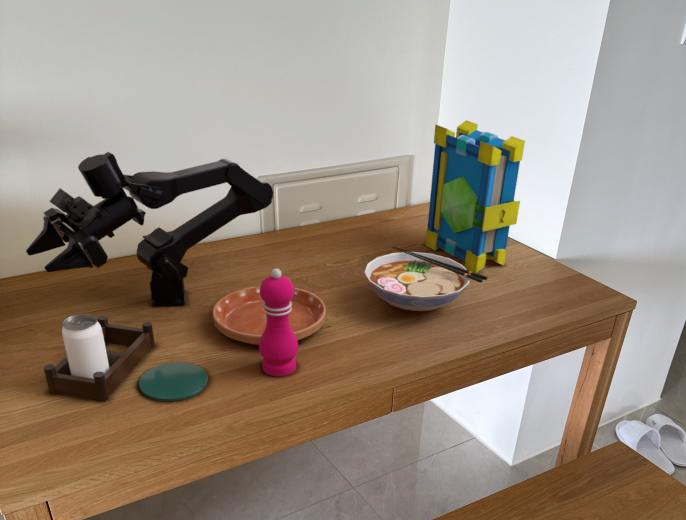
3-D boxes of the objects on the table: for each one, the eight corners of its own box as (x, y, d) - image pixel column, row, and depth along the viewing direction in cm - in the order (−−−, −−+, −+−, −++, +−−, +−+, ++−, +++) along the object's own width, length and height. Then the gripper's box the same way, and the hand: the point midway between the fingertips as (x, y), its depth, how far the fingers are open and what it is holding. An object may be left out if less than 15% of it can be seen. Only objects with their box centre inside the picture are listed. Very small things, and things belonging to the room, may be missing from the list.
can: (100, 393, 126) (87, 333, 119) (66, 387, 126) (52, 327, 120) (117, 373, 131) (107, 315, 124) (85, 369, 132) (72, 310, 125)
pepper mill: (260, 357, 137) (255, 260, 126) (298, 357, 138) (297, 260, 126) (259, 378, 131) (254, 278, 120) (299, 377, 132) (297, 278, 120)
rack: (104, 337, 141) (100, 314, 139) (156, 344, 140) (153, 322, 137) (47, 393, 125) (41, 368, 122) (105, 402, 123) (100, 377, 121)
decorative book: (471, 277, 171) (488, 148, 154) (413, 243, 186) (423, 123, 169) (515, 265, 177) (536, 140, 160) (456, 234, 193) (469, 117, 176)
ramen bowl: (338, 300, 158) (338, 266, 153) (404, 271, 172) (407, 238, 167) (426, 342, 144) (430, 305, 140) (491, 306, 158) (496, 272, 154)
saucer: (190, 325, 147) (188, 309, 144) (271, 289, 161) (270, 274, 159) (269, 365, 135) (268, 348, 133) (348, 323, 150) (348, 307, 148)
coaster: (208, 363, 135) (208, 360, 134) (206, 399, 125) (206, 396, 125) (142, 366, 133) (142, 363, 133) (135, 403, 123) (135, 400, 123)
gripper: (65, 167, 138) (-7, 210, 133) (107, 194, 126) (30, 242, 121) (94, 215, 146) (27, 258, 141) (136, 245, 134) (65, 292, 130)
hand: (36, 261), depth 133 cm, fingers open, 9 cm apart
